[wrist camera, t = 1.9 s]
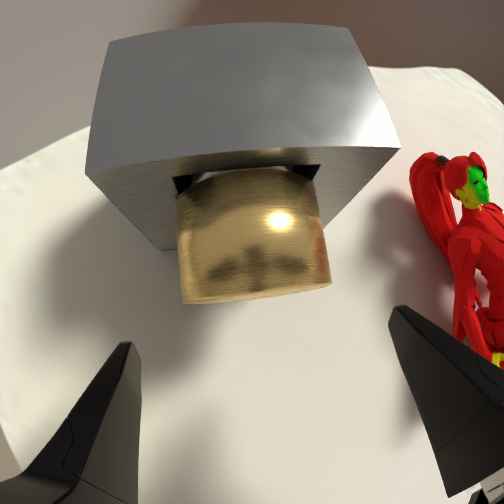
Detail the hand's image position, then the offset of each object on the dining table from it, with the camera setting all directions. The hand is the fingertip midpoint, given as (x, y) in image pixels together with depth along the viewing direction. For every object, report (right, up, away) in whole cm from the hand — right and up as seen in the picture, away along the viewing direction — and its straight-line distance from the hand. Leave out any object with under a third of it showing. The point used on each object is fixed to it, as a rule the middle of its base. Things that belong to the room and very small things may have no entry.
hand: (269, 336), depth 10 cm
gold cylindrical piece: (-1, +4, +6) cm, 8 cm away
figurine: (+20, -4, +12) cm, 23 cm away
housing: (-2, +7, +12) cm, 14 cm away
